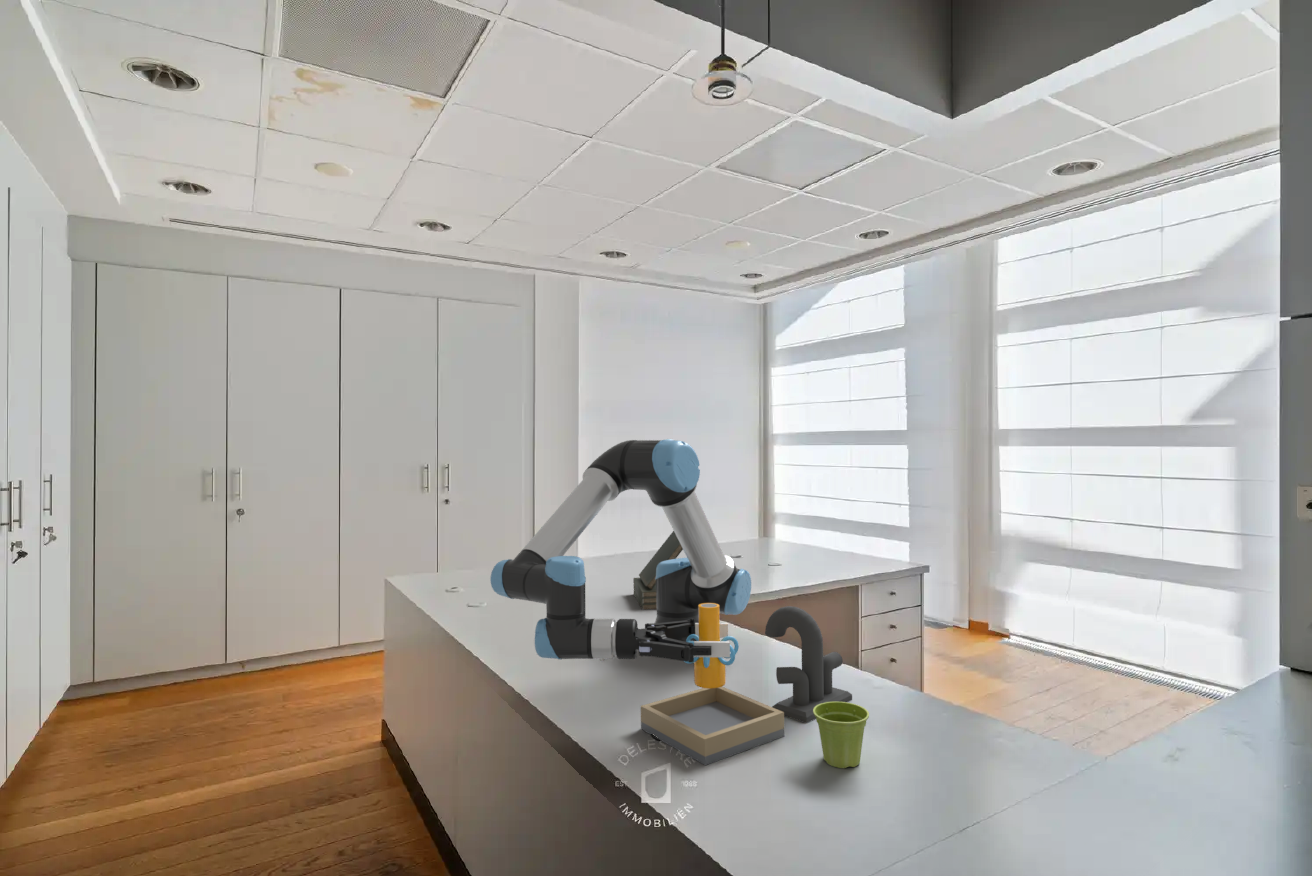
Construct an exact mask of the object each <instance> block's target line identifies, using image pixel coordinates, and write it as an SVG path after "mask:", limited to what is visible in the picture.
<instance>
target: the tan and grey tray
mask: <svg viewBox="0 0 1312 876" xmlns="http://www.w3.org/2000/svg"><path fill="white" fill-rule="evenodd" d="M640 729H641V730H642V729H643V730H642V731H644V732H645V731H646V732H645V733H647V732H648V733H647V734H649V735H651V734H654V735H655V736H657V737H658V738H659V739H658V738H657V739H658V740H660V741H661V742H663V743H665V744H666V745H668V746H670V747H673V748H674V749H675V750H677V751H679V752H681V753H682V754H684V755H686V756H688V757H690V758H692V759H693V760H695V761H696V762H699V763H700V764H702V765H704V766H707V765H710V764H712V763H715V762H718V761H721V760H723V759H726V758H729V757H732V756H734V755H737V754H740V753H742V752H745V751H748V750H750V749H751V750H752V749H753V748H756V747H759V746H761V745H765V744H766V743H770V742H772V741H775V740H777V739H781V738H783V737H785V716H784V712H782V711H780V710H777V709H775V708H773V707H772V706H770V705H768V704H765V703H763V702H761V701H759V700H755V699H753V698H751V697H748V696H746V695H744V694H742V693H738V692H736V691H735V690H732V689H729V688H727V687H724V686H722V687H719V688H711V689H710V688H702V687H700V688H699V689H695V690H692V691H688V692H685V693H681V694H677V695H674V696H671V697H667V698H664V699H660V700H657V701H653V702H651V703H646V704H643V705H640Z"/></svg>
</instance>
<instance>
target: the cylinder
mask: <svg viewBox="0 0 1312 876" xmlns="http://www.w3.org/2000/svg"><path fill="white" fill-rule="evenodd" d="M698 611H699V637H698V636H697V635H695V634H691V635H689V636H688V637H687V639H686V642H689V643H693V644H694V641H690V640H691V639H692V638H694V639H696V640H697V641H732V643H733V644H734V647H733V645H731V644H730V657H694V662H688V661H687V662H686V661H683V662H684V663H685V664H690V665H691V664H694V665H693V674H694V675H693V677H694V678H693V679H694V680H693V681H694V684H695V686H697V687H699V688H710V689H711V688H719V687H724V686H725V685H726V680H727V678H726V677H727V676H726V674H727V673H726V666H731V665H732V664H734V662H735V660H736V655H737V654H738V651H739V647H740V645H739V642H738V640H737V639H736V638H735V637H734V636H731V635H728V636H727V637H724V638H722V639H721V638H720V623H721V622H720V621H721V620H720V614H721V613H720V612H719V604H715V603H702V604H699V605H698ZM725 659H729V660H725Z"/></svg>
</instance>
